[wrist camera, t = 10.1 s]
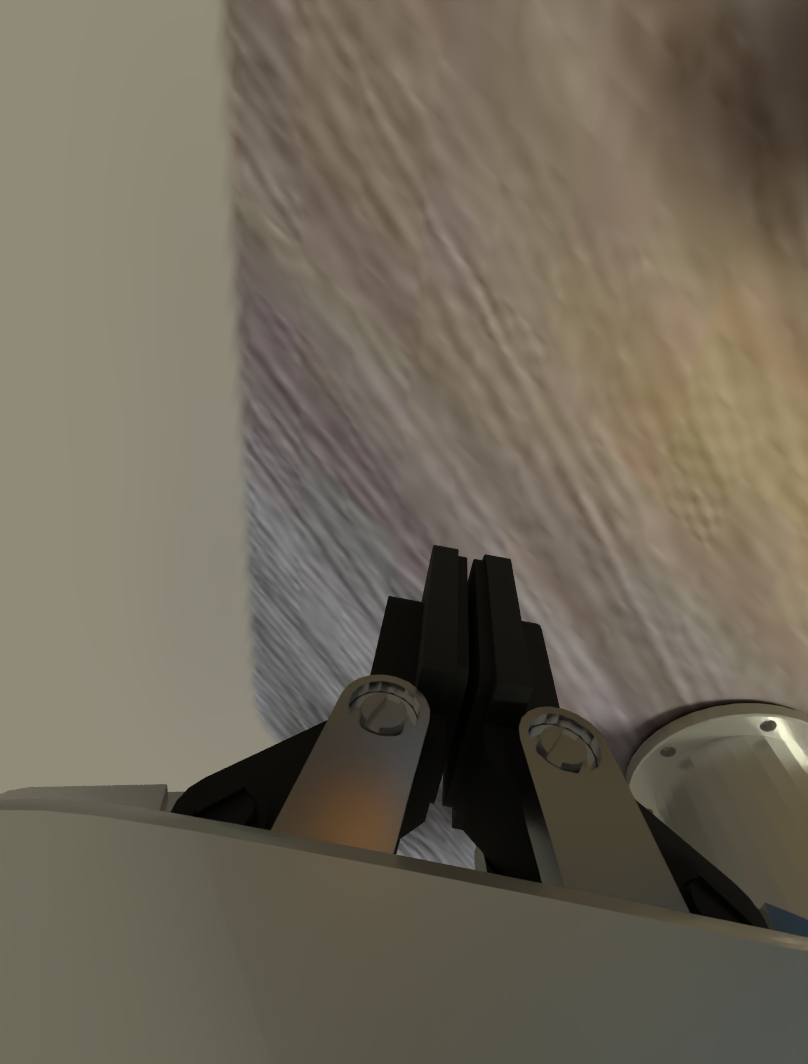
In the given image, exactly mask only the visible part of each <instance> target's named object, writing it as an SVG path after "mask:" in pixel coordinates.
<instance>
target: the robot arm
mask: <svg viewBox="0 0 808 1064" xmlns="http://www.w3.org/2000/svg"><path fill="white" fill-rule="evenodd" d="M458 552H459V551H458V549H454V548H448V547H443V546H437V545H434V546H433V549H432V554H431V559H430V563H429V568H428V573H427V578H426V583H425V588H424V592H423V597H422V602H419V601H413V600H408V599H403V598H397V597H392V596H389V597H388V601H387V605H386V610H385V614H384V618H383V623H382V627H381V631H380V636H379V640H378V644H377V649H376V653H375V658H374V662H373V666H372V671H371V675H369V676H365V677H362V678H358V679H357V680H355V681H354V682H352V683H350V684H349V685H348V686H347V687H346V688H345V690H344V691H343V692H342V693H341V695H340V697H339V699H338V701H337V703H336V705H335V707H334V709H333V711H332V713H331V715H330V717H329V718H328V720H327V721H325V722H323V723H320V724H318V725H316V726H314V727H312V728H310V729H308V730H305V731H303V732H301V733H299V734H297V735H295V736H293V737H291V738H288V739H286V740H284V741H282V742H280V743H278V744H276V745H274V746H272V747H270V748H267V749H265V750H263V751H261V752H259V753H257V754H254V755H252V756H250V757H248V758H246V759H244V760H242V761H240V762H237V763H235V764H233V765H231V766H229V767H227V768H225V769H223V770H220V771H218V772H216V773H214V774H212V775H210V776H208V777H206V778H204V779H202V780H200V781H199V782H197V783H196V784H194V785H193V786H191V787H189V788H188V789H187V790H186V791H185V792H167V785H166V784H159V785H113V786H67V787H29V788H22V789H16V790H10V791H7V792H5V793H3V794H0V1064H808V715H806V714H804V713H802V712H799V711H796V710H792V709H789V708H786V707H782V706H776V705H769V704H761V703H736V704H729V705H722V706H714V707H710V708H707V709H703V710H700V711H696V712H692V713H690V714H688V715H685V716H683V717H681V718H678V719H676V720H674V721H672V722H670V723H669V724H667V725H666V726H664V727H662V728H661V729H659V730H657V731H656V732H655V733H654V734H653V735H652V736H650V737H649V738H648V739H647V740H646V741H645V742H643V744H642V745H641V746H640V747H639V749H638V750H637V751H636V753H635V754H634V755H633V757H632V759H631V761H630V763H629V765H628V768H627V771H626V777H625V778H624V776H623V774H622V771H621V769H620V767H619V765H618V763H617V761H616V759H615V757H614V755H613V753H612V751H611V749H610V747H609V745H608V743H607V742H606V740H605V739H604V737H603V736H602V734H601V733H600V732H599V731H598V730H597V729H596V728H595V727H594V726H593V725H592V724H591V723H590V722H588V721H587V720H585V719H583V718H582V717H580V716H579V715H577V714H575V713H572V712H570V711H568V710H565V709H561V708H560V707H559V703H558V699H557V694H556V690H555V686H554V681H553V677H552V672H551V668H550V664H549V659H548V655H547V651H546V646H545V642H544V638H543V633H542V629H541V627H540V625H539V624H536V623H530V622H525V621H522V620H521V615H520V609H519V603H518V598H517V592H516V586H515V581H514V575H513V569H512V563H511V560H510V559H507V558H502V557H497V556H491V555H486V554H485V555H484V557H483V560H477V559H474V560H473V563H472V567H471V571H470V575H469V579H468V580H467V558H466V557H461V556H458ZM442 774H443V794H442V803H443V806H447V807H452V828H456V829H461V830H463V831H464V832H465V833H466V834H467V835H468V836H469V838H470V839H471V840H472V841H473V842H474V843H475V844H476V849H475V852H474V859H475V870H472V869H467V868H462V867H456V866H451V865H446V864H441V863H436V862H431V861H426V860H421V859H416V858H411V857H406V856H400V855H396V854H397V851H398V847H399V843H400V839H401V838H402V837H403V836H405V835H406V834H408V833H409V832H410V831H412V830H413V829H415V828H416V827H418V826H419V825H420V824H422V823H423V822H425V818H426V815H427V811H428V807H429V804H430V803H432V804H434V802H435V799H436V796H437V792H438V789H439V785H440V781H441V778H442Z"/></svg>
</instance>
